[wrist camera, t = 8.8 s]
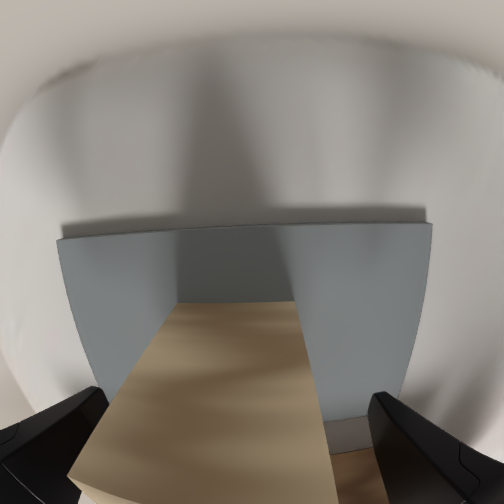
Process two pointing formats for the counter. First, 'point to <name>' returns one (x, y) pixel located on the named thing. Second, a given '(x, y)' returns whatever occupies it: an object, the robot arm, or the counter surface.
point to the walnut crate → (358, 478)
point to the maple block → (214, 415)
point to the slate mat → (260, 295)
